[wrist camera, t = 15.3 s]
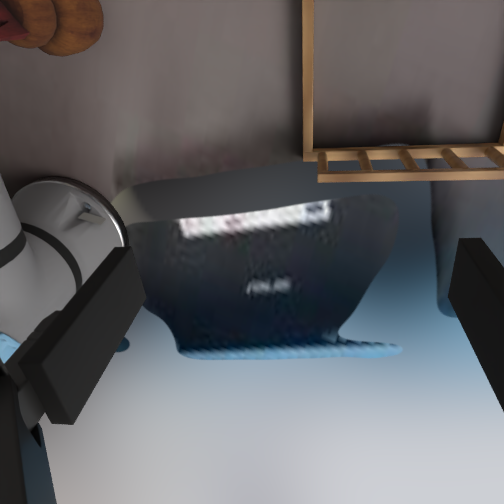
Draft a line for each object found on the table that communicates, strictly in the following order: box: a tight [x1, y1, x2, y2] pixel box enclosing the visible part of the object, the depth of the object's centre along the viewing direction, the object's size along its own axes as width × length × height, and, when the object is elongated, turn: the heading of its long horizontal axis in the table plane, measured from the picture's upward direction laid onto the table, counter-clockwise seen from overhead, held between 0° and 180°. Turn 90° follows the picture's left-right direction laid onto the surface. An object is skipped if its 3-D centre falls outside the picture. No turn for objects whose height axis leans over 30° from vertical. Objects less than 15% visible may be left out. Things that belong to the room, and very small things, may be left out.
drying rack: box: [302, 0, 504, 182], centre depth 33 cm, size 20×18×8 cm
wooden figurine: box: [0, 0, 103, 57], centre depth 32 cm, size 7×6×15 cm
